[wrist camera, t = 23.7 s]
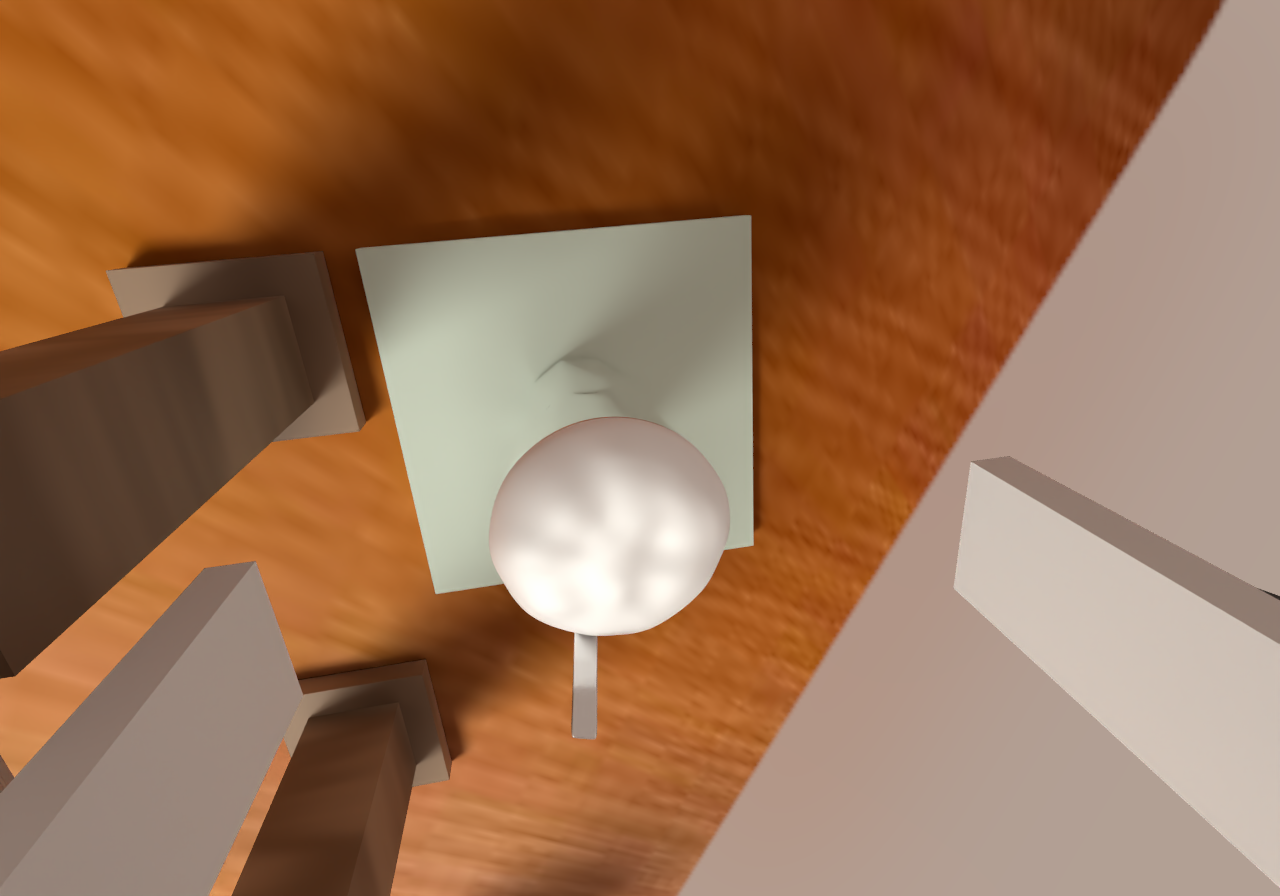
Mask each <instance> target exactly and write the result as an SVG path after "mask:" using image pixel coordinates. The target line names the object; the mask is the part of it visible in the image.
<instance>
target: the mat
mask: <svg viewBox="0 0 1280 896" xmlns="http://www.w3.org/2000/svg"><path fill="white" fill-rule="evenodd" d="M355 251H356V255H357V259H358V263H359V268H360V272H361V276H362V281H363V285H364V289H365V293H366V298H367V302H368V306H369V311H370V315H371V319H372V323H373V328H374V332H375V336H376V341H377V345H378V349H379V353H380V358H381V362H382V366H383V371H384V375H385V379H386V383H387V388H388V392H389V396H390V401H391V405H392V409H393V413H394V418H395V422H396V426H397V430H398V435H399V439H400V443H401V448H402V452H403V456H404V460H405V465H406V469H407V473H408V478H409V482H410V486H411V490H412V495H413V499H414V503H415V508H416V512H417V516H418V520H419V525H420V529H421V533H422V538H423V542H424V546H425V550H426V555H427V559H428V563H429V568H430V572H431V576H432V580H433V585H434V589H435V593H436V594H440V593H446V592H453V591H459V590H466V589H473V588H479V587H486V586H492V585H499V584H504V583H503V581H502V579H501V578H500V576H499V574H498V572H497V570H496V568H495V566H494V564H493V561H492V558H491V554H490V549H489V529H490V520H491V515H492V511H493V507H494V503H495V499H496V497H497V494H498V491H499V489H500V486H501V484H502V481H503V478H504V475H505V473H506V470H507V467H508V464H509V462H510V459H511V456H512V454H513V451H514V448H515V446H516V443H517V441H518V438H519V435H520V432H521V429H522V426H523V422H524V418H525V415H526V411H527V407H528V403H529V399H530V395H531V391H532V388H533V384H534V382H535V381H536V380H537V379H538V378H539V377H541V376H542V375H543V374H544V373H545V372H547V371H548V370H549V369H550V368H551V367H552V366H554V365H555V364H556V363H557V362H558V361H559V360H566V359H579V358H590V357H595V358H596V359H598V360H600V361H601V362H603V363H605V364H606V365H608V366H610V367H611V368H613V369H615V370H616V371H618V372H620V373H621V374H623V375H624V376H625V377H626V378H627V379H628V380H629V381H630V382H631V383H632V385H633V386H634V387H635V388H636V389H637V390H638V391H639V392H640V393H641V394H642V395H643V396H644V397H645V398H646V400H647V401H648V402H649V403H650V404H651V405H652V406H653V407H654V408H655V409H656V410H657V411H658V413H659V414H660V415H661V416H662V417H663V418H664V419H665V420H666V421H668V422H669V423H670V424H671V425H672V426H673V427H674V428H675V429H676V430H677V431H678V432H680V433H681V434H682V435H683V436H684V437H685V438H686V439H687V440H688V441H689V442H690V443H692V444H693V445H694V446H695V447H696V448H697V449H698V450H699V451H700V452H701V453H702V455H703V456H704V457H705V458H706V459H707V461H708V462H709V463H710V464H711V466H712V467H713V468H714V470H715V471H716V473H717V475H718V476H719V478H720V480H721V482H722V484H723V486H724V488H725V491H726V494H727V497H728V502H729V509H730V528H729V534H728V539H727V542H726V545H725V548H724V550H727V549H734V548H740V547H747V546H753V545H754V543H753V398H752V253H751V215H740V216H728V217H716V218H705V219H693V220H681V221H669V222H658V223H646V224H634V225H622V226H611V227H599V228H587V229H576V230H564V231H552V232H540V233H529V234H517V235H505V236H493V237H482V238H470V239H458V240H446V241H435V242H423V243H411V244H399V245H388V246H376V247H364V248H358V249H355Z"/></svg>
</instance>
